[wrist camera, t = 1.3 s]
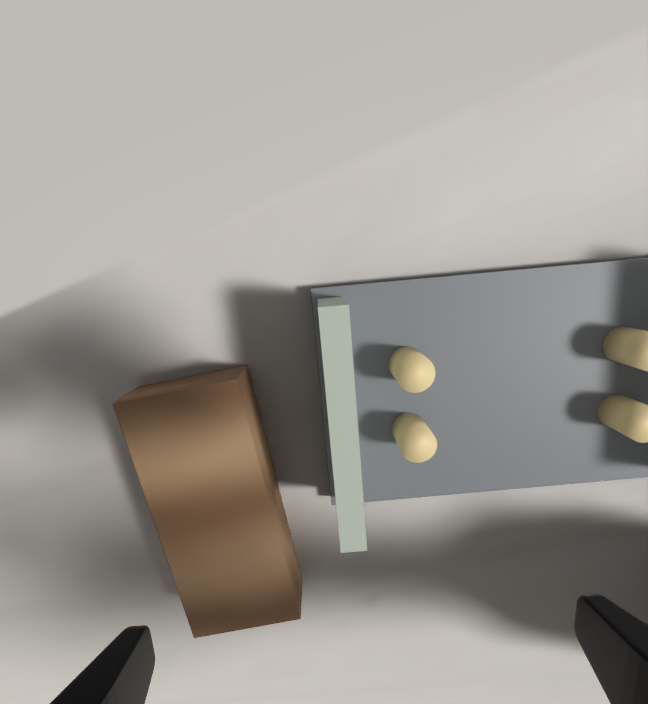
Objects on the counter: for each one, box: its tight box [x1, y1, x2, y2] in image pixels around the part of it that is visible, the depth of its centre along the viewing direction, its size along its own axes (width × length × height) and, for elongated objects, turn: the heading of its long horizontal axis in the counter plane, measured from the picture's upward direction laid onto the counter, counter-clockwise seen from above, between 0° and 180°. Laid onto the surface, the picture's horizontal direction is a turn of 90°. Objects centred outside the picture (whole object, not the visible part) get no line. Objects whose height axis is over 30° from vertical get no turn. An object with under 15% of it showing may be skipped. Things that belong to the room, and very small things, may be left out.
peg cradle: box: [311, 257, 648, 553], centre depth 18 cm, size 12×20×5 cm, turn 95°
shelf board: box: [113, 365, 302, 638], centre depth 20 cm, size 14×6×3 cm, turn 11°
